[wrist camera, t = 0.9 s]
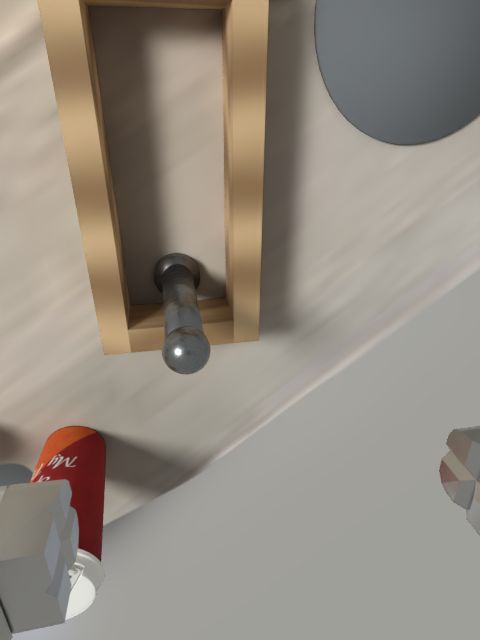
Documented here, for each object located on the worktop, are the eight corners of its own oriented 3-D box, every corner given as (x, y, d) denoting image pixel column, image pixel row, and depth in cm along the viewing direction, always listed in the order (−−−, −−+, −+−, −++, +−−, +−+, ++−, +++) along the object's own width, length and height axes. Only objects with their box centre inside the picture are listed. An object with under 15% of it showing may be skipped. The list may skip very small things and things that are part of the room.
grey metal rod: (152, 254, 33) (151, 339, 22) (198, 251, 34) (219, 333, 23) (156, 295, 35) (158, 393, 24) (200, 292, 35) (220, 386, 25)
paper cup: (56, 405, 38) (12, 553, 26) (131, 434, 42) (123, 578, 30) (18, 460, 41) (-38, 619, 29) (92, 484, 44) (69, 635, 32)
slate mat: (328, -168, 23) (330, -171, 23) (579, -143, 26) (584, -146, 25) (304, 146, 31) (306, 146, 31) (498, 141, 34) (501, 142, 33)
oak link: (44, -40, 24) (26, -61, 20) (254, -31, 26) (270, -48, 22) (108, 328, 36) (104, 355, 32) (248, 316, 37) (258, 340, 34)
